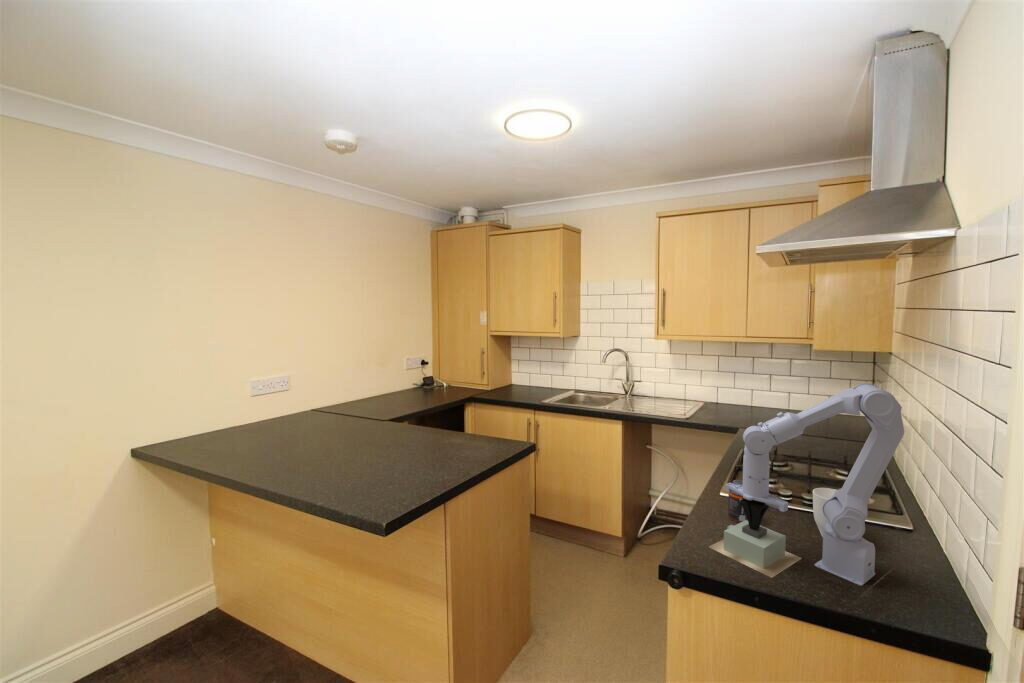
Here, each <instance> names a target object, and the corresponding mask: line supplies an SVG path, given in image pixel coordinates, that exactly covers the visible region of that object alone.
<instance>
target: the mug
mask: <svg viewBox="0 0 1024 683" xmlns="http://www.w3.org/2000/svg"><path fill="white" fill-rule="evenodd" d="M837 490H838V489H836V488H835V489H834V488H829V487H817V488H814V489H812V508H813V510H812V511H813V518H814V521H815V524H816V526H817V528H818V530H819V533H820V535H821V537H822V538H823V527H824V525H825V524H826V522H827V518H826V517H825V515H824V514H823V510H822V507H823V504H824V503H825V501H827V500H828V499H830V498H831V497H832V496H833V495H834V493H835V491H837Z"/></svg>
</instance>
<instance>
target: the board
mask: <svg viewBox="0 0 1024 683" xmlns="http://www.w3.org/2000/svg"><path fill="white" fill-rule="evenodd" d="M708 548H709V549H711V550H713V551H716V552H718V553H720V554H721V555H724V556H726V557H728V558H730V559H732V560H734V561H736V562H738V563H740V564H742V565H744V566H747V567H748V568H751V569H753V571H754V570H755V571H757V572H758V573H761V574H763V575H765V576H767V577H769V578H771V579H773V578H774V577H776V576H777V575H779V574H781V573H782V572H783V571H785V570H787V569H788V568H790V567H791V566H792V565H794V564H795V563H798V561H800V560H802V559H803V558H802V557H800V556H798V555H796V554H794V553H791V552H788V551H786V550H785V556H783V557H781V558H780V559H778V560H776V561H775V562H773V563H772V564H770V565H768V566H767V567H765V568H761V567H759V566H757V565H755V564H753V563H751V562H748V561H746V560H744V559H742V558H740V557H738V556H736V555H734V554H732V553H730V552H727V551H725V550H724V538H723V539H720V540H719V541H716V542H715V543H713V544H710V545H709V546H708Z"/></svg>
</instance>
